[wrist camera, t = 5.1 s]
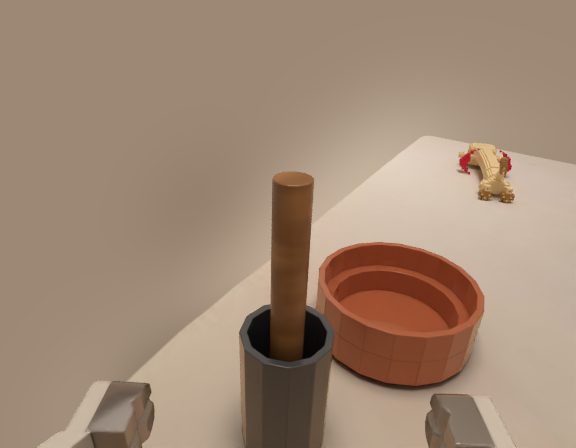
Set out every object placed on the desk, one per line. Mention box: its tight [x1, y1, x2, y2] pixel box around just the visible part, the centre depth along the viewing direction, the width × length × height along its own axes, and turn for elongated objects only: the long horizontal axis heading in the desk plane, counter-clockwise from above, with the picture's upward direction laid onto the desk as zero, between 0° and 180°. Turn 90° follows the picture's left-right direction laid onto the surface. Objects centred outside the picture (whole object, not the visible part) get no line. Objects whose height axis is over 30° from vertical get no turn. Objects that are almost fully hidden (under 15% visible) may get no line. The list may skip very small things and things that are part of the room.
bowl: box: [316, 242, 484, 386], centre depth 40 cm, size 15×15×6 cm
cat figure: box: [458, 143, 515, 203], centre depth 81 cm, size 10×9×25 cm
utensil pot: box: [239, 304, 335, 448], centre depth 28 cm, size 6×6×10 cm
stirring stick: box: [270, 172, 314, 362], centre depth 26 cm, size 2×2×20 cm
